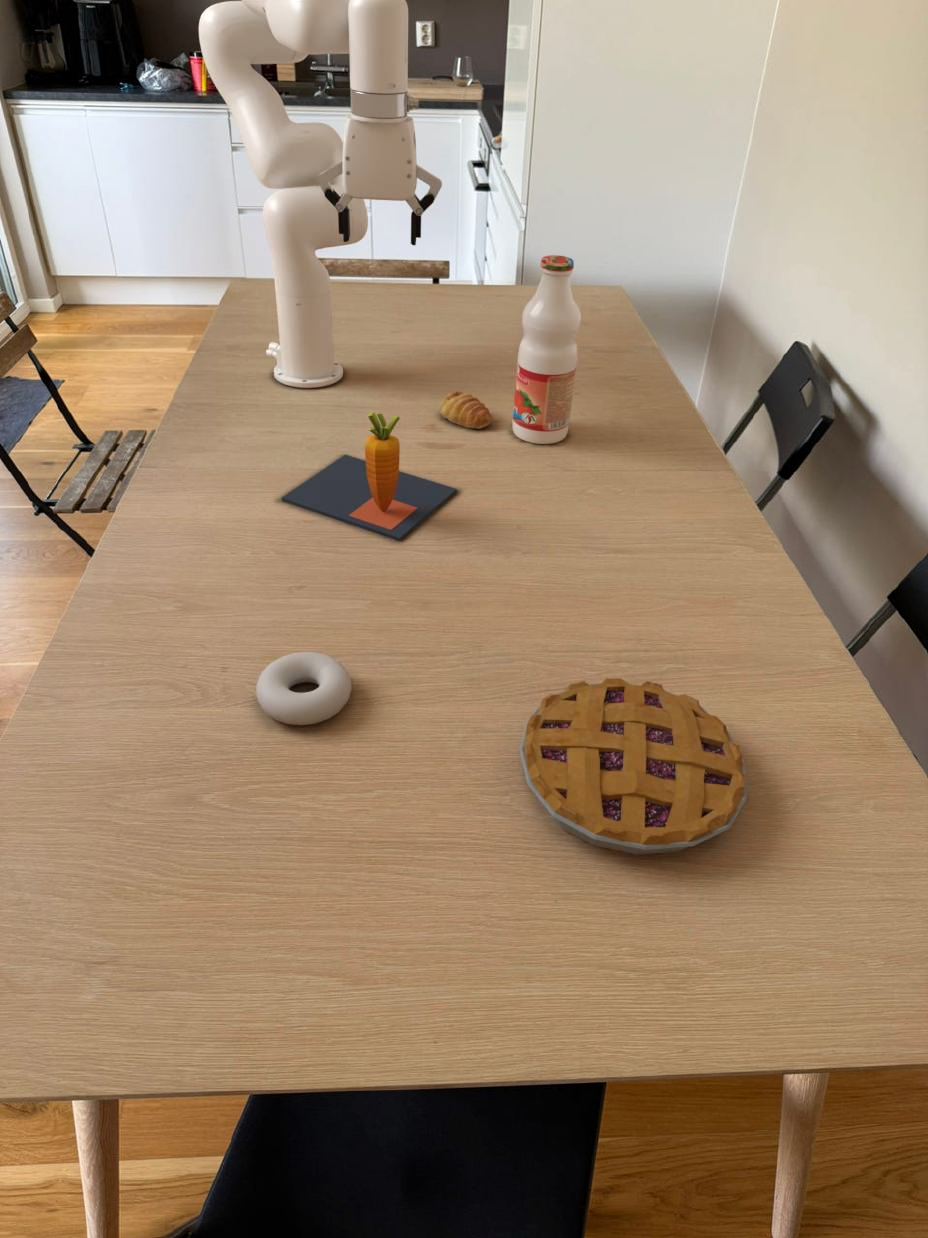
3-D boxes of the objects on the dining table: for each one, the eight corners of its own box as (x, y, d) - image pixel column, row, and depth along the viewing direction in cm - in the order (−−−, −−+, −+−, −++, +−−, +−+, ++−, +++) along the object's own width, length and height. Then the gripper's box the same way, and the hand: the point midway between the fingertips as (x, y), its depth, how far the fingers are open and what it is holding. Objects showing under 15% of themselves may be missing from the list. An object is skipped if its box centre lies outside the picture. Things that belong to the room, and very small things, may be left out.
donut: (237, 708, 94) (311, 745, 90) (233, 683, 92) (308, 720, 88) (300, 658, 101) (371, 690, 97) (297, 634, 99) (369, 666, 94)
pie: (516, 863, 79) (521, 826, 76) (517, 697, 97) (521, 662, 94) (762, 879, 79) (776, 843, 76) (718, 710, 96) (728, 675, 93)
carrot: (406, 506, 127) (406, 407, 118) (392, 523, 123) (391, 422, 114) (374, 499, 128) (372, 401, 119) (360, 515, 124) (356, 415, 115)
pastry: (501, 423, 151) (502, 402, 149) (473, 435, 147) (474, 414, 145) (462, 405, 156) (463, 385, 154) (434, 416, 152) (434, 395, 150)
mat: (281, 500, 128) (281, 496, 127) (345, 457, 139) (345, 453, 139) (399, 540, 121) (399, 537, 120) (456, 491, 132) (457, 488, 132)
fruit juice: (569, 446, 145) (592, 270, 128) (512, 444, 145) (527, 267, 128) (565, 421, 153) (586, 251, 136) (510, 419, 153) (524, 248, 136)
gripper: (444, 104, 121) (440, 236, 132) (316, 97, 120) (322, 231, 131) (444, 114, 115) (439, 251, 126) (310, 106, 115) (317, 245, 125)
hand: (380, 240), depth 128 cm, fingers open, 9 cm apart
